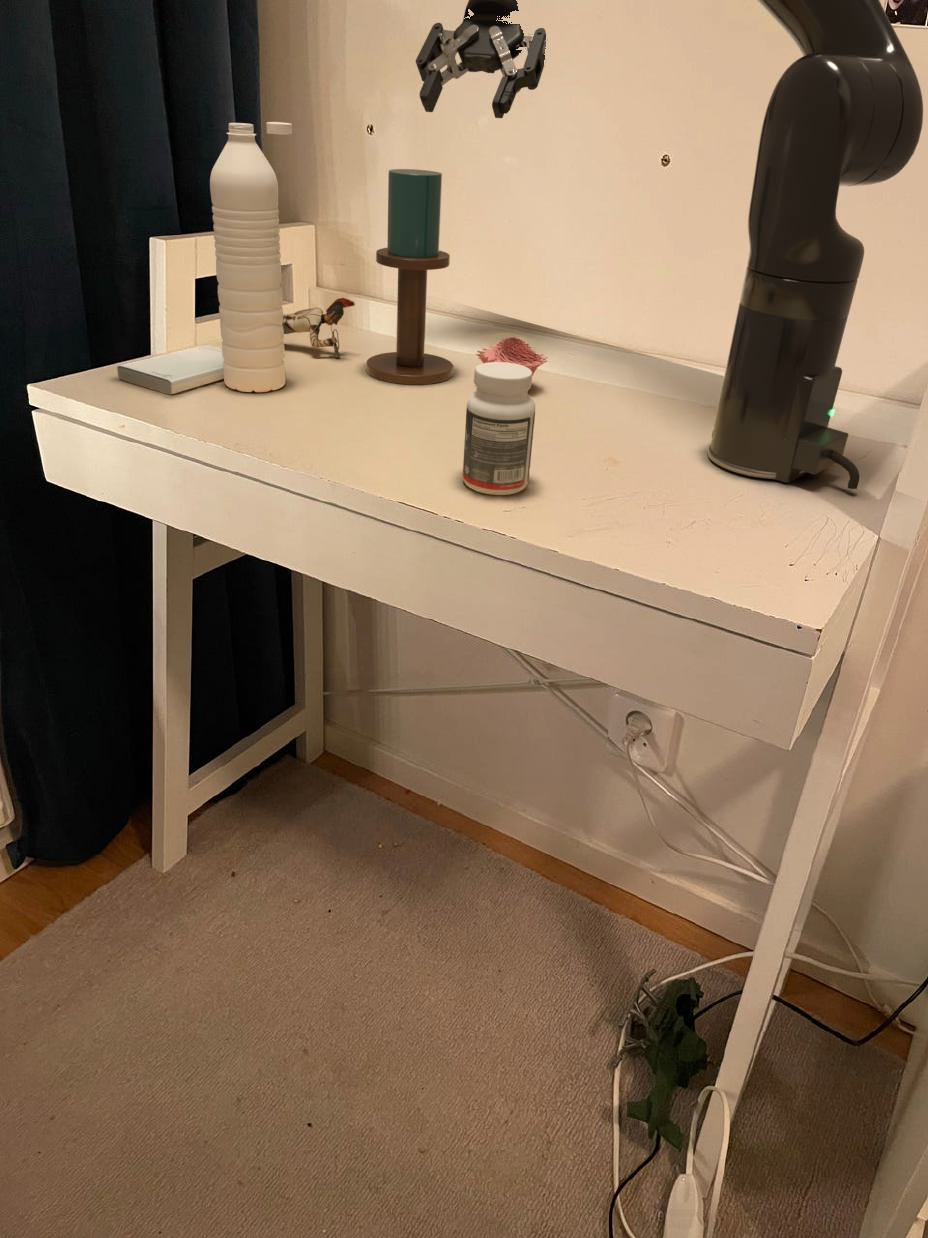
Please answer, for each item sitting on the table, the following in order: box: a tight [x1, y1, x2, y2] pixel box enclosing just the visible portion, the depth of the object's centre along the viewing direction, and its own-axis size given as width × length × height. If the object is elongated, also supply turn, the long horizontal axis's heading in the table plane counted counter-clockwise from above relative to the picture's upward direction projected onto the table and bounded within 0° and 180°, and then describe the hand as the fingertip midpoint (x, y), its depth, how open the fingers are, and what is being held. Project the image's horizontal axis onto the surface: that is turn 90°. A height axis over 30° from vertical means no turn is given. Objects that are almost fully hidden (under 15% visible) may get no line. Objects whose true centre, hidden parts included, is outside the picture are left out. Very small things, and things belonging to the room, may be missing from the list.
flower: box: [475, 336, 548, 377], centre depth 103 cm, size 8×8×6 cm
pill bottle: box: [462, 362, 536, 496], centre depth 78 cm, size 6×6×10 cm
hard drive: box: [116, 344, 224, 395], centre depth 101 cm, size 2×8×12 cm
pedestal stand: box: [365, 247, 454, 386], centre depth 104 cm, size 10×10×13 cm
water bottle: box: [209, 121, 293, 393], centre depth 95 cm, size 9×6×25 cm
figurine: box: [282, 297, 356, 359], centre depth 112 cm, size 6×4×15 cm
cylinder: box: [386, 168, 443, 258], centre depth 99 cm, size 6×6×8 cm
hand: (461, 109), depth 102 cm, fingers open, 8 cm apart
